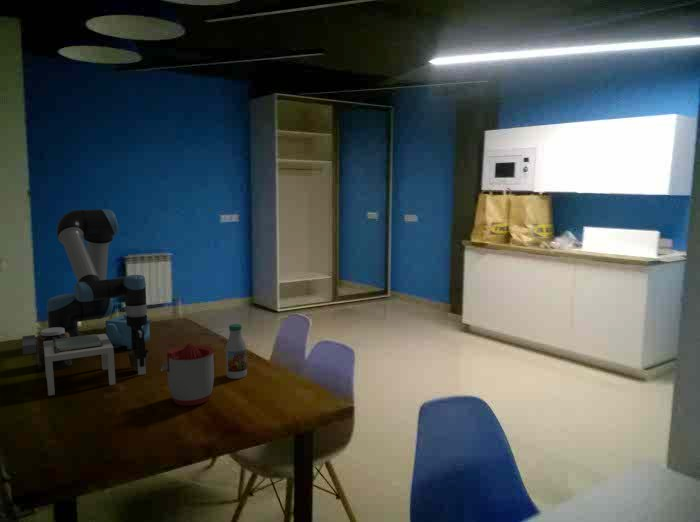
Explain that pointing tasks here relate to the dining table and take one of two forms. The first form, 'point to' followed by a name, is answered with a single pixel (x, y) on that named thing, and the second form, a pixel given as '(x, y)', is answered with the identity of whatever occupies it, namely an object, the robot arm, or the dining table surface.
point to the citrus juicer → (190, 374)
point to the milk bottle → (236, 353)
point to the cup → (134, 361)
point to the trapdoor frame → (104, 351)
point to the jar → (48, 336)
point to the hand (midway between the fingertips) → (139, 370)
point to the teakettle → (123, 331)
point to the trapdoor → (62, 343)
